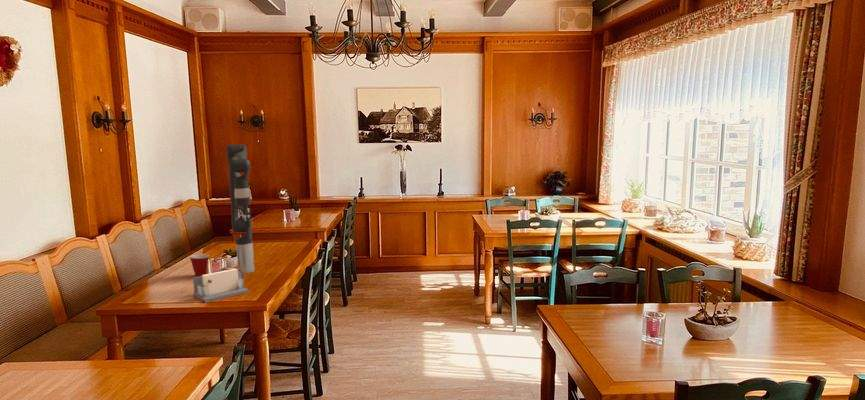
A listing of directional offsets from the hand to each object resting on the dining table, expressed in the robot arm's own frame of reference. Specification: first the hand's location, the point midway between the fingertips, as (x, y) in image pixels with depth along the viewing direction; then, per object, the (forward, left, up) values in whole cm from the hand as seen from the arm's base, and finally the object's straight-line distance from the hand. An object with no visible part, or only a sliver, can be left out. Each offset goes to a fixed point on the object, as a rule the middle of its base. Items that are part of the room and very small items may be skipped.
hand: (244, 226), depth 280 cm
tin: (-11, -5, -32) cm, 35 cm away
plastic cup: (-39, -12, -32) cm, 52 cm away
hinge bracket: (+6, -17, -32) cm, 37 cm away
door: (+6, -17, -31) cm, 35 cm away
